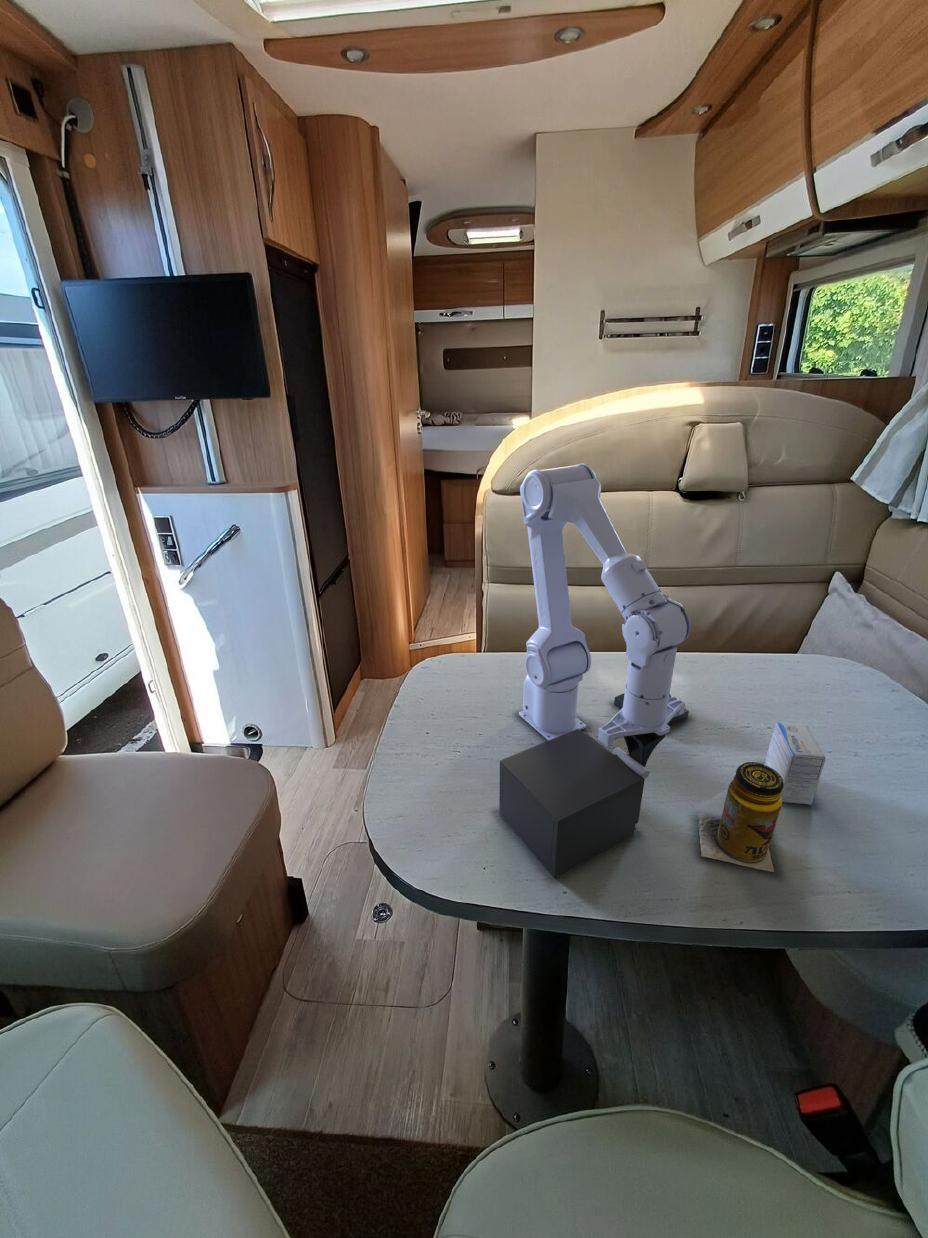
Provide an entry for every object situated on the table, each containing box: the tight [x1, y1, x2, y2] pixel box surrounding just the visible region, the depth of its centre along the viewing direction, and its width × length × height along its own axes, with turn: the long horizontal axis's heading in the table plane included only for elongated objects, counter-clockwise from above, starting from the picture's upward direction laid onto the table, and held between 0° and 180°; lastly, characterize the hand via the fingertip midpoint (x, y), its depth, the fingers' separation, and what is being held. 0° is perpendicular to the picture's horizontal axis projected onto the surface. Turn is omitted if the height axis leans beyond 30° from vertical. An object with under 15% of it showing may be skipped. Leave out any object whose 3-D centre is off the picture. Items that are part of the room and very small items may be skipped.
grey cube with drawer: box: [498, 729, 642, 879], centre depth 75 cm, size 14×13×10 cm
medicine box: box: [764, 721, 826, 806], centre depth 81 cm, size 8×4×9 cm, turn 168°
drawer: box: [584, 732, 651, 825], centre depth 77 cm, size 17×11×8 cm
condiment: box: [697, 761, 784, 873], centre depth 71 cm, size 7×8×12 cm
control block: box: [613, 692, 690, 727], centre depth 100 cm, size 10×8×4 cm
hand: (636, 766), depth 81 cm, fingers closed
